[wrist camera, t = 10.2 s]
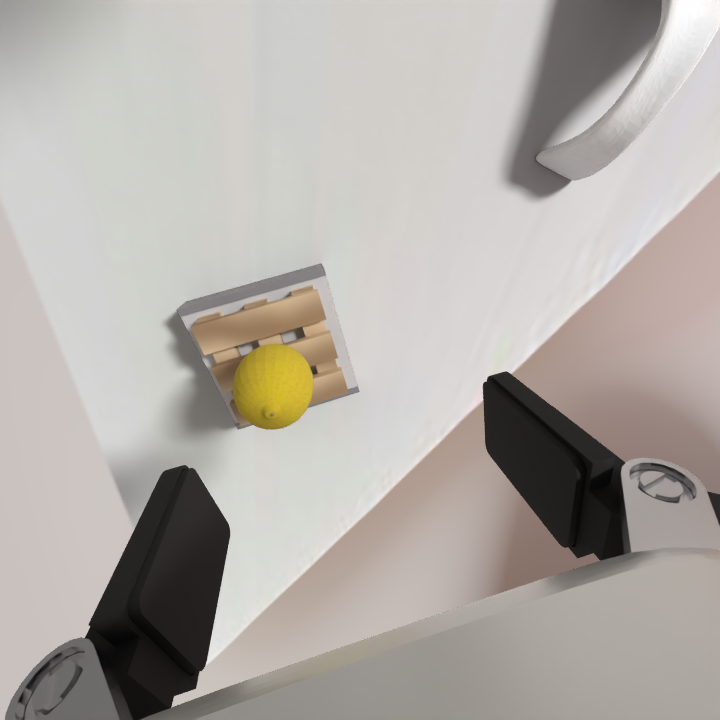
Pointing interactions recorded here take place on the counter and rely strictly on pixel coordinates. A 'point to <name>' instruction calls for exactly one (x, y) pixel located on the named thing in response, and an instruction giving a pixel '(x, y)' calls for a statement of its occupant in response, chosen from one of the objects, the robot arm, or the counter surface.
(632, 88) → the spoon rest
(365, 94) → the counter surface
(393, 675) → the robot arm
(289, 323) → the pallet
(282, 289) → the dock
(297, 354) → the lemon
